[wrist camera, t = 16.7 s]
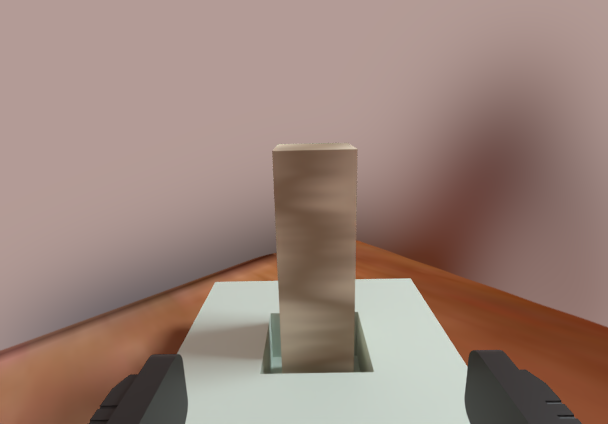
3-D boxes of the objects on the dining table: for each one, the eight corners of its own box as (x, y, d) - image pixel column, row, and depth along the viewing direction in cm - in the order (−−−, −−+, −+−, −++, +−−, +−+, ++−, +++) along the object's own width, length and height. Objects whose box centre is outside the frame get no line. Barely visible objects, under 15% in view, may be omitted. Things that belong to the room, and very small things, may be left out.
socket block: (407, 321, 30) (410, 278, 29) (513, 534, 15) (526, 458, 14) (219, 325, 31) (215, 281, 30) (132, 538, 15) (117, 464, 14)
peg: (345, 365, 25) (347, 142, 21) (352, 411, 21) (357, 148, 17) (287, 366, 25) (278, 144, 21) (283, 412, 21) (272, 150, 17)
